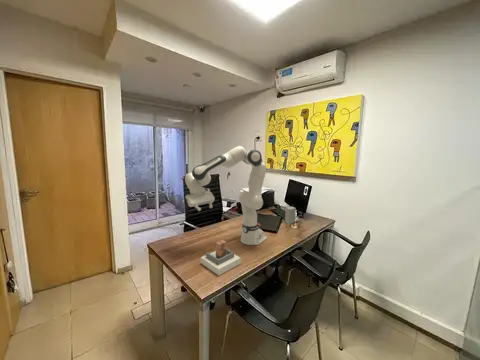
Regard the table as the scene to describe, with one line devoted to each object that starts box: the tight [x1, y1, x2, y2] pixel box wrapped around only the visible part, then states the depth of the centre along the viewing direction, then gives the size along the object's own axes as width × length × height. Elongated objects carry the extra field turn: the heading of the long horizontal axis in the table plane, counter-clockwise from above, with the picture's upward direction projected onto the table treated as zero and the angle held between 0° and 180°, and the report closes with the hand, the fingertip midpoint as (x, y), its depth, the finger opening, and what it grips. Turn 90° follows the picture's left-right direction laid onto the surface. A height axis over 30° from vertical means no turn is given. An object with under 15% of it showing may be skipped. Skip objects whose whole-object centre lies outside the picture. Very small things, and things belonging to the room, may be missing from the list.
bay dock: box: [200, 248, 242, 276], centre depth 129 cm, size 18×18×7 cm
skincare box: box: [284, 206, 297, 225], centre depth 203 cm, size 8×7×16 cm
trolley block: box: [215, 239, 227, 259], centre depth 128 cm, size 5×4×10 cm
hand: (205, 209), depth 139 cm, fingers open, 8 cm apart
